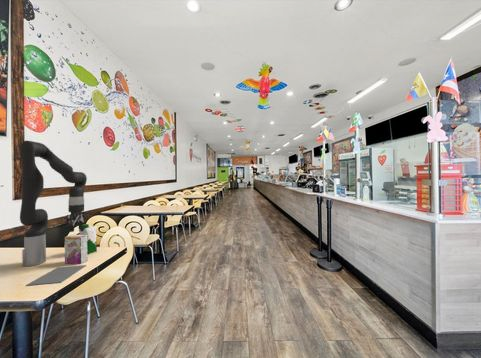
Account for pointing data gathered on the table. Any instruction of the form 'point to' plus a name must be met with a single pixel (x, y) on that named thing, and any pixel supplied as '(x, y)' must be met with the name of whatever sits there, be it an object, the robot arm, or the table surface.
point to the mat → (57, 275)
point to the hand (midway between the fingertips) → (76, 230)
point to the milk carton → (89, 237)
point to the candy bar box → (76, 249)
